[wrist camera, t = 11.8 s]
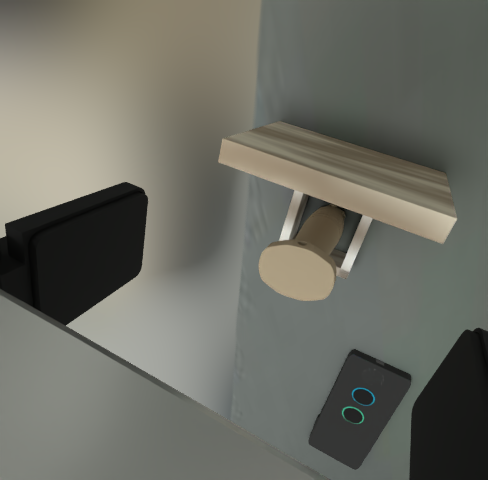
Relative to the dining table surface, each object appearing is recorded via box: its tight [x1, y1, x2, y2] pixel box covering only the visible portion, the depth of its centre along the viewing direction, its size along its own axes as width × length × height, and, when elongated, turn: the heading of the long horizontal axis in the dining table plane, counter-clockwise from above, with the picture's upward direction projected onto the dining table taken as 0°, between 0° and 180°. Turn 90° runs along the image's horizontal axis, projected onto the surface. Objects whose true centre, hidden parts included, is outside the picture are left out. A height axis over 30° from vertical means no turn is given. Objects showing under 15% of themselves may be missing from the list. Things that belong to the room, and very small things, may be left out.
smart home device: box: [309, 349, 411, 469], centre depth 52 cm, size 8×2×20 cm
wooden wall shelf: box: [218, 121, 457, 279], centre depth 36 cm, size 13×18×14 cm
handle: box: [259, 203, 345, 301], centre depth 36 cm, size 5×6×15 cm
